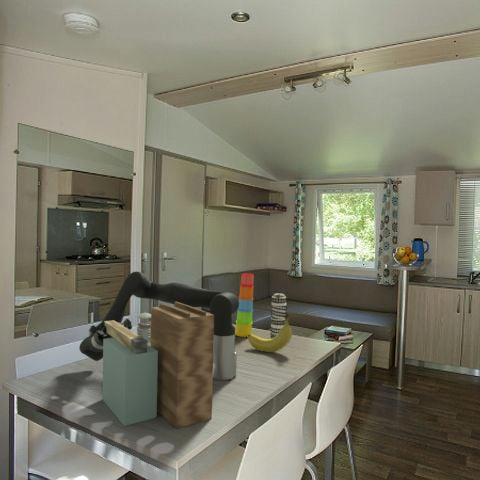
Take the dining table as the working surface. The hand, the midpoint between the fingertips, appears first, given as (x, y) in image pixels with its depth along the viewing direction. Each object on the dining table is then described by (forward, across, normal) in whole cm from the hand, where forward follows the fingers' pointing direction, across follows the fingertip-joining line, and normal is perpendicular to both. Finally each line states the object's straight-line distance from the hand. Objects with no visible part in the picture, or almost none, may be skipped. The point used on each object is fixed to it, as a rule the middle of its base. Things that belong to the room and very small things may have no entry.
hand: (116, 322), depth 138 cm
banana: (-21, +78, +17) cm, 83 cm away
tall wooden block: (+8, +13, +34) cm, 37 cm away
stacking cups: (-49, +86, +1) cm, 99 cm away
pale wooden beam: (+4, 0, +8) cm, 9 cm away
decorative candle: (-34, +96, +10) cm, 102 cm away
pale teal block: (-1, 0, +28) cm, 28 cm away
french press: (-60, +33, -5) cm, 68 cm away
